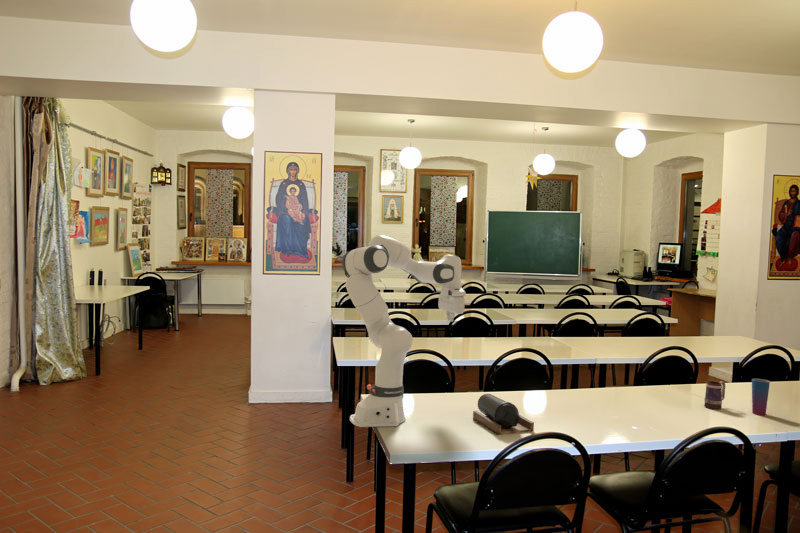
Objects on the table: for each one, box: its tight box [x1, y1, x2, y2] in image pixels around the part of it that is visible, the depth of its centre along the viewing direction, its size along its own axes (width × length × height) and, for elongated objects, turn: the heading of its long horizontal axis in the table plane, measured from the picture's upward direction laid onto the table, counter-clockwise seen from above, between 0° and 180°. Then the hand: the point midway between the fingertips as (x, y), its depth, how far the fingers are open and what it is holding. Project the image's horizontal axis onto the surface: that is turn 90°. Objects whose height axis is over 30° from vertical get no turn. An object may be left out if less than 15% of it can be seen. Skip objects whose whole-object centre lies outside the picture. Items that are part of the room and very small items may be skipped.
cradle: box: [472, 410, 535, 436], centre depth 228 cm, size 16×20×4 cm
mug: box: [704, 380, 726, 411], centre depth 263 cm, size 10×7×12 cm
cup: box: [751, 378, 771, 416], centre depth 254 cm, size 7×7×15 cm
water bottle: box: [477, 393, 520, 429], centre depth 229 cm, size 10×10×23 cm
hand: (450, 321), depth 257 cm, fingers closed
